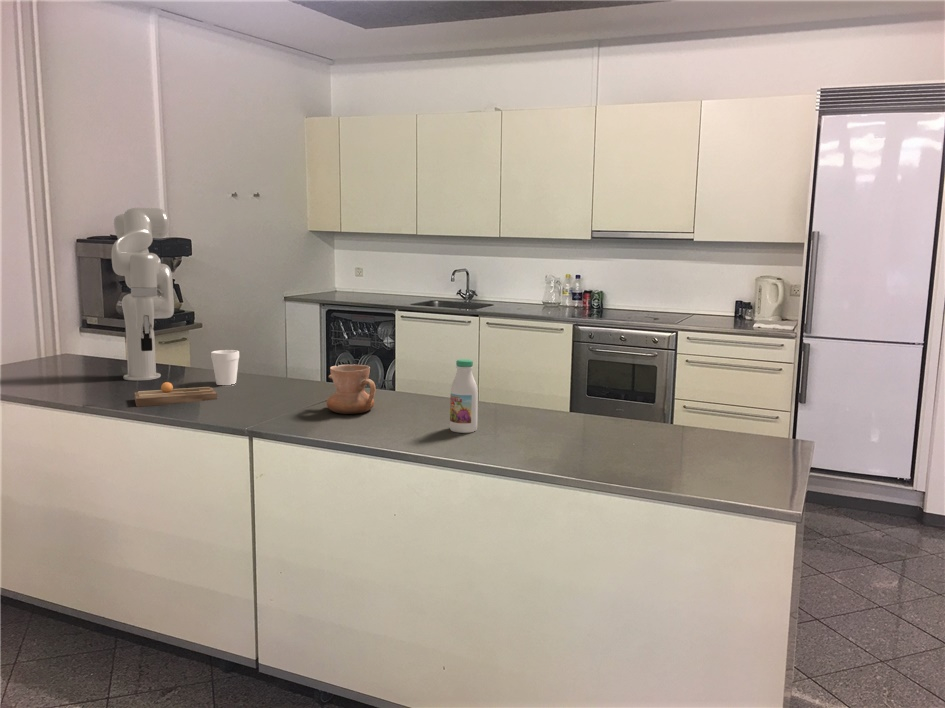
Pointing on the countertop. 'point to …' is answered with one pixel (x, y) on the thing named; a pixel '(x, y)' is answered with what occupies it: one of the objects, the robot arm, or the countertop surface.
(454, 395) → the milk bottle
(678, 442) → the countertop surface
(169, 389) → the ball
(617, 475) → the countertop surface
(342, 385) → the ceramic jug
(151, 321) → the robot arm
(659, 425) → the countertop surface
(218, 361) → the foam cup
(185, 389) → the runway
